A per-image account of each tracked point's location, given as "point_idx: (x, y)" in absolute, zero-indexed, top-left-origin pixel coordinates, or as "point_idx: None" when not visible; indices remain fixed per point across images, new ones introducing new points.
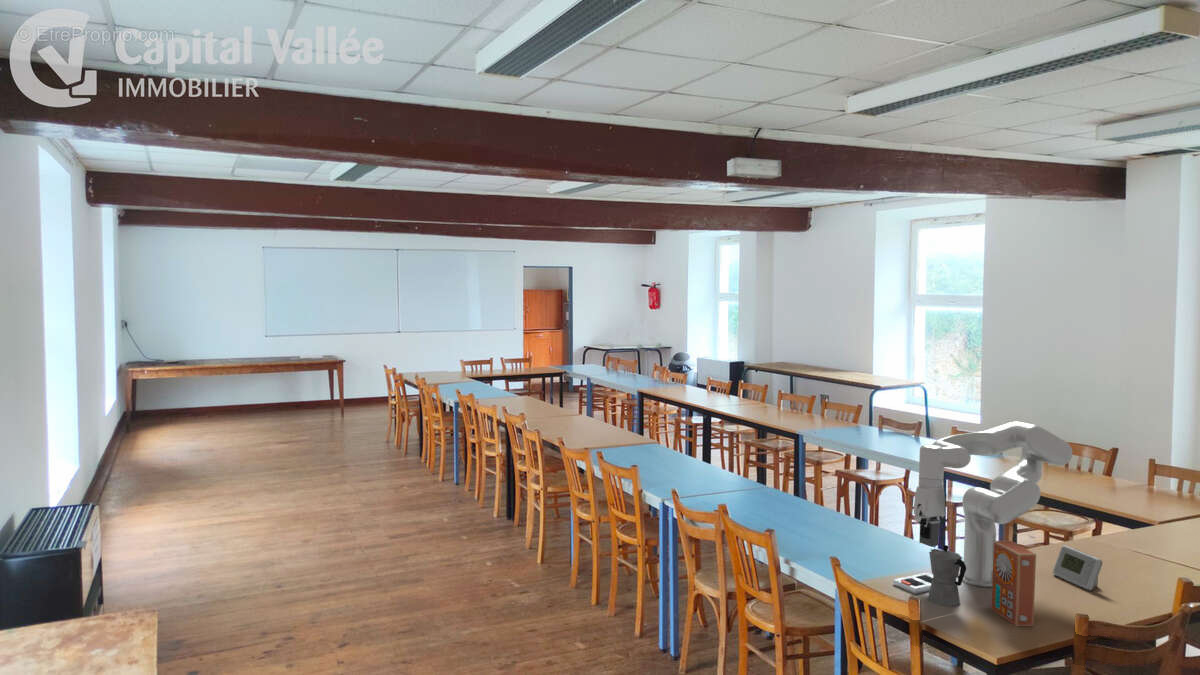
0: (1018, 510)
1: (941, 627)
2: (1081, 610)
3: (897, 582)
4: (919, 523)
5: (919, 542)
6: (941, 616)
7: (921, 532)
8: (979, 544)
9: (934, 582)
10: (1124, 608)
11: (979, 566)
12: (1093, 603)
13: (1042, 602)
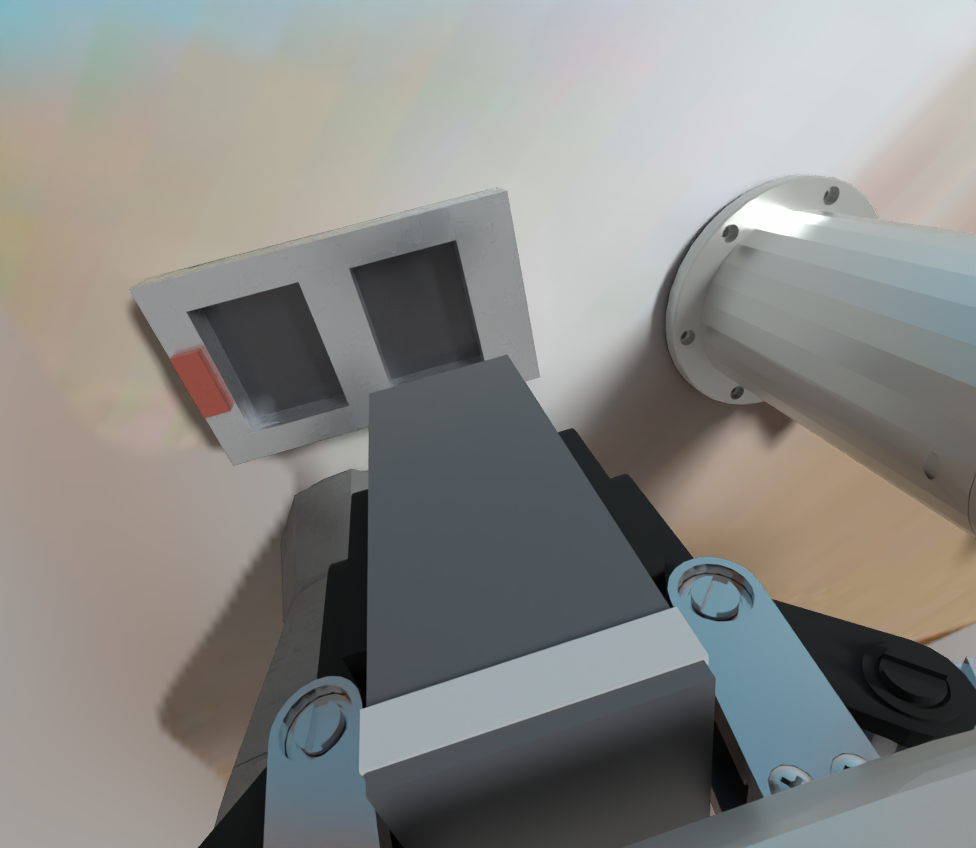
0: None
1: (191, 729)
2: (808, 606)
3: (155, 327)
4: (273, 741)
5: (369, 396)
6: (249, 655)
7: (329, 597)
8: (919, 499)
9: (285, 619)
10: (935, 594)
11: (779, 408)
12: (905, 562)
13: (765, 550)
